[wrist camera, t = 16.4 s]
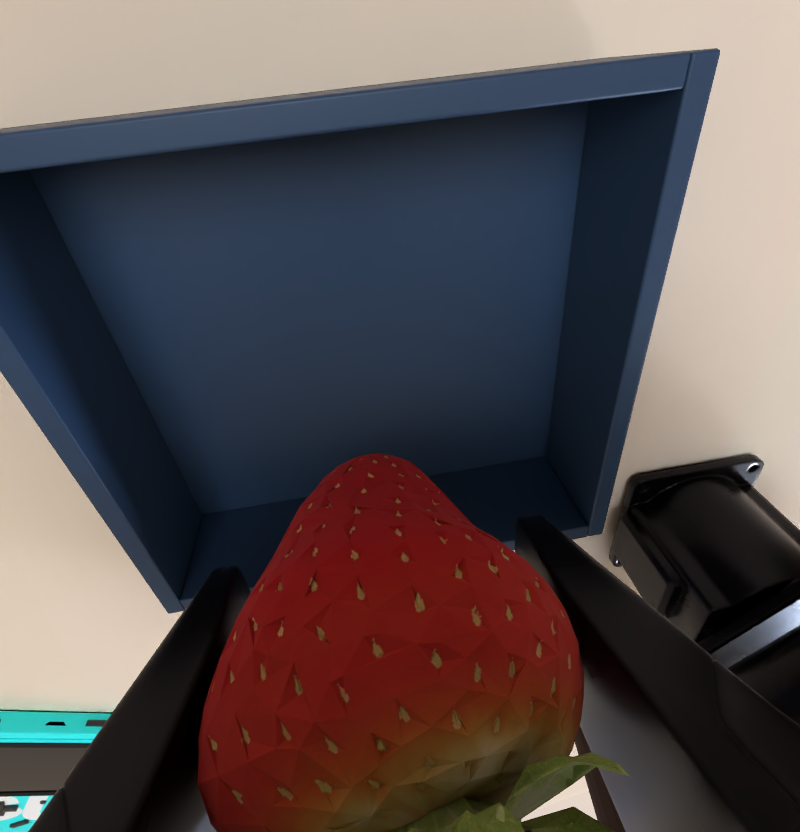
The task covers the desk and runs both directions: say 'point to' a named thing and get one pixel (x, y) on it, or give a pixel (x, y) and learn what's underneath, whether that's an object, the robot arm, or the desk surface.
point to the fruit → (394, 675)
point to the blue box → (345, 297)
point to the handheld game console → (39, 760)
